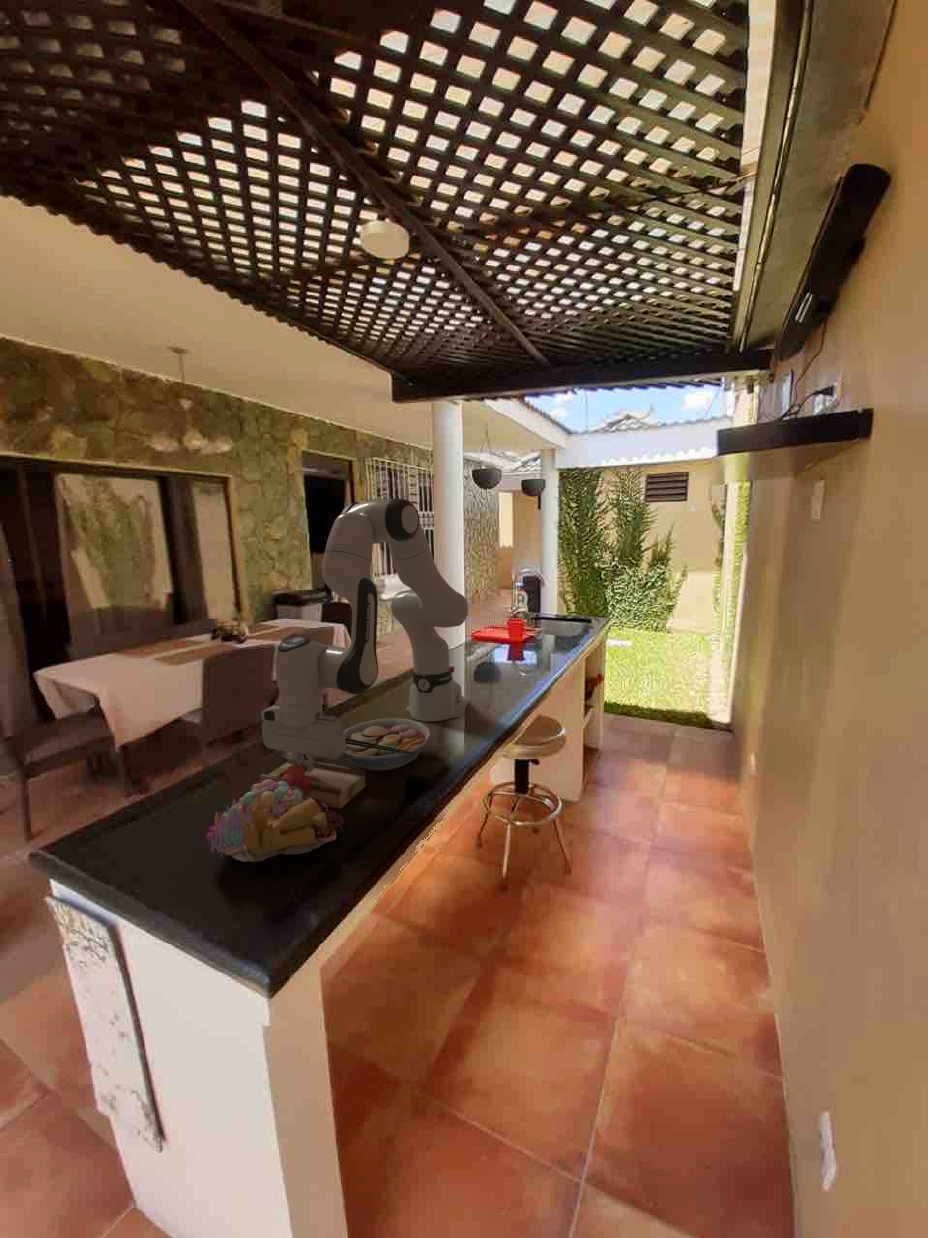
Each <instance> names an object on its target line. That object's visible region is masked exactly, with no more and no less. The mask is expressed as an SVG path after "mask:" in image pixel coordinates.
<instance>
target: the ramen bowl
mask: <svg viewBox="0 0 928 1238" xmlns="http://www.w3.org/2000/svg"><path fill="white" fill-rule="evenodd" d="M343 733H344V737H345V742H346V751H345V753H344V754H343V755H344V756H345V758H346V759H347V760H348V761H349V762H350V763H351V764H353V765H355V766H357V767H360V768H363V769H364V770H369V771H388V770H390V771H391V770H393V769H398V768H400V767H403V766H405V765H407V764H408V763H410V762H412V761H413V760H416V758H418V756H419V755H420V754H421V752H422V751H423V749H424V748H425V747H426V744H427V743H428V741H429V739H430V737H431V732H430V727H428V726H426V725H425V724H424V723H422V722H420V721H418V720H417V721H416V720H412V719H408V718H394V717H393V718H392V717H391V718H389V717H388V718H380V719H377V718H376V719H374V720H372V719H371V720H367V721H364V722H361V723H358V724H357V723H356V724H354V725H353V726H351V727H348V728H346V729H345V730H343Z"/></svg>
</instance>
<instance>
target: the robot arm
mask: <svg viewBox="0 0 928 1238" xmlns="http://www.w3.org/2000/svg"><path fill="white" fill-rule="evenodd" d="M420 522H421V521H420V516H419V512H418V510H417V507H415V505H414V504H413V503H412V502H411V501H410V500H408V499H405V498H401V497H400V498H399V497H395V498H374V499H372V500H366V501H361V502H359V501H357V502H353V503H351V504H349V505H347V506H345V507H344V508H343V509H342V511H341V513H340V514H339V515H338V516H337V517H336V518H335V520H334V522H333V525H332V527H331V529H330V532H329V535H328V538H327V541H326V542H327V543H326V545H325V550H324V555H323V559H322V564H321V565H322V566H321V576H322V579H323V581H324V583H325V585H326V586H327V587H328V589H330V590H331V591H333V593H334V594H336V595H338V596H340V597H342V598H343V599H345V600H346V602H348V604H349V605H350V608H351V613H352V614H351V615H352V616H351V634H350V635H351V637H350V638H351V639H350V644H349V647H341V646H337V645H329V644H323V643H320V642H317V641H315V640H313V639H312V638H311V637H309V636H297V637H291V638H288V639H286V640H283V641H282V642H281V643H280V644H279V645H278V646H277V648H276V651H275V657H274V659H275V660H274V662H275V663H274V665H275V666H274V667H275V668H274V669H275V670H274V671H275V681H276V685H277V687H278V691H279V695H278V698H279V699H278V698H277V699H278V702H279V703H278V704H273V705H272V706H269V707H267V708H265V709H263V710H262V711H261V713H260V717H261V719H262V721H263V722H262V724H261V733H262V734H261V735H262V741H263V744H264V746H265V747H266V748H267V749H272V750H276V751H288V752H293V757H294V759H295V760H296V762H297V763H298V765H300V766H302V767H303V768H304V770H305V771H306V772H311V771H313V770H314V761H316V760H317V758H325V759H330V760H337V759H339V758H340V757H342V756H343V755H344V753H345V751H346V742H345V737H344V733H343V732H344V730H343V723H342V721H341V720H340V719H339V718H337V716H335V715H327V714H324V713H323V705H322V696H321V695H322V694H321V692H320V691H321V689H323V688H328V689H333V690H338V691H341V692H345V693H348V694H352V695H354V696H358V695H361V694H364V693H365V692H367V691H368V690H369V689H370V688H371V687H372V686H373V685H374V684H375V682H376V681H377V678H378V675H379V662H378V655H377V638H378V637H377V636H378V635H377V633H378V631H377V630H378V609H379V608H378V599H379V598H378V597H379V596H378V590H377V586H376V584H375V583H374V582H373V581H372V577H371V565H372V560H373V558H372V557H373V552H374V551H373V549H374V545H375V544H383V543H386V544H387V547H388V550H389V553H390V556H391V560H392V563H393V565H394V567H395V570H396V571H395V572H396V574H397V576H398V578H399V580H400V582H401V584H403V585H404V586H407V588H409V589H405V590H401V591H398V592H397V593H396V594H394V596H393V598H392V601H391V603H390V605H391V606H390V609H391V613H392V615H393V617H394V619H395V620H396V621H397V622H398V623H399V624H400V625H401V626H402V627H403V629H404V630H405V633H406V635H407V637H408V640H409V642H410V646H411V651H412V653H411V654H412V661H413V670H412V674H411V677H412V683H413V684H411V685H410V687H409V705H408V706H407V707H406V710H405V711H406V712H407V713H409V714H410V716H411V718H413V719H414V720H417V721H421V722H441V721H445V720H449V719H454V718H456V719H457V718H461V717H462V716H463V714H464V712H465V710H466V708H467V706H468V704H469V702H470V700H469V697H466V696H463V694H462V686H461V685H460V684H459V683H458V682H457V681H455V680H454V678H453V673H455V666H453V665H452V666H451V665H450V649H449V647H450V646H449V644H448V642H447V641H446V640H445V639H444V638H442V637H441V636H440V635H439V634H438V632H437V630H436V628H442V629H443V628H445V629H447V628H454V627H461V625H463V623H464V622H465V621H466V620H467V618H468V615H469V604H468V601H467V599H466V597H465V596H464V595H463V594H461V593H460V592H459V591H457V590H455V589H454V588H453V587H452V586H451V585H450V584H449V583H448V582H447V581H446V580H445V579H444V577H443V576H442V574H441V573H440V571H439V570H438V568H437V565H436V562H435V561H434V557H433V554H432V551H431V548H430V543H429V542H428V539H427V537H426V533H425V531H424V528H423V527H422V524H421V523H420ZM303 754H305V755H304V756H303ZM306 760H308V761H306Z"/></svg>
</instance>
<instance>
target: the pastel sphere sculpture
mask: <svg viewBox="0 0 928 1238" xmlns="http://www.w3.org/2000/svg"><path fill="white" fill-rule="evenodd" d="M310 782H311V781H310V778H309V777H307V776H305V770H304V768H303V767H302V766H300V765H297V764H295V765H291V766H290V767H288V768H287V770H286V771H285V775H284V776H283V777H282V778H281V781H280V782H274V781H273V780H271V779H266V780H264V781H263V782H262V783H261V782H259V783H254V784H252V786H251V788H250V789H251V791H248V792H245V794H244V795H243V796H242V797H240V798H239V799H238V802H237V801H236V800H237V799H236V800H235V798H233V801H232V802H231V805H232V806H230V808H229V806H228V805H227V806H226V807H225V811H223V813H222V811H219V813H218V811H217V812H215V815H214V826H211V827H209V832H208V833H207V834H206V836H205V839H206V840H207V841H208V846H210V853H211V852H212V853H213V854H214V853H215V850H216V852H217V854H220V858H222V857H223V854H225V855H228V856H231V857H232V858H233V859H235V860H238V861H241V862H244V863H246V862H252V863H253V862H254V863H256V862H257V863H258V862H262V861H264V860H266V859H267V858H273V857H274V856H277V855H279V854H281V855H282V854H284V855H299V854H301V855H302V854H305V853H309V852H311V851H313V850H316V849H319V848H320V847H322V846H323V845H325V844H326V843H329V842H332V841H336V840H337V836H338V834H337V833H345V831H344V829H343V826H342V825H345V826H346V823H345V819H344V816H343V815H341V814H339V813H336V812H335V811H332V810H328V807H329V806H327V805H325V804H324V802H321V801H320V800H319V799H316V798H311V796H310V794H311V789H310V788H309V785H310ZM292 785H297V786H298V787H299V788H300V789H304V794H306V795H309V798H308V797H306V796H303V794H302V792H300V791H299V790H298V789H295V790H291V788H290V787H291V786H292Z"/></svg>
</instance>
